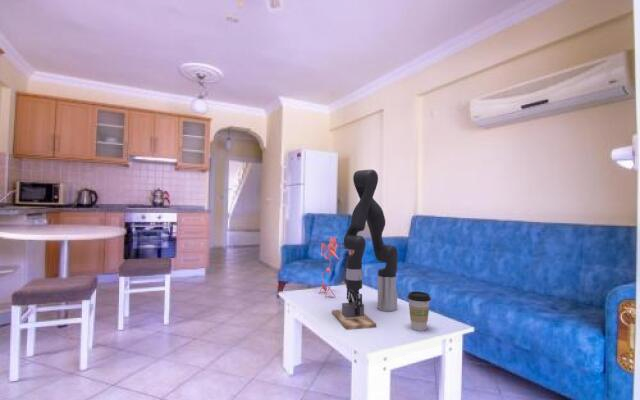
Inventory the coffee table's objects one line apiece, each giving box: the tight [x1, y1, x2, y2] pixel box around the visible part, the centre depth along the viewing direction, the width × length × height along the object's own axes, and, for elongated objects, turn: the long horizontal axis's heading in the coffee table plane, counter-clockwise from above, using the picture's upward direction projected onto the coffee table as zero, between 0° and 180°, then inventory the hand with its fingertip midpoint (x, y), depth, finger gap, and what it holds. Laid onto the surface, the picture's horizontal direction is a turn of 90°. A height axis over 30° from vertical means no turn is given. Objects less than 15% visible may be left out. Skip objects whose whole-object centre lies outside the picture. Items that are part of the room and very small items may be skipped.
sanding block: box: [341, 301, 365, 319], centre depth 154 cm, size 10×5×6 cm, turn 104°
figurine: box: [318, 236, 340, 298], centre depth 198 cm, size 15×26×35 cm, turn 22°
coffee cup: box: [407, 291, 432, 332], centre depth 145 cm, size 10×10×15 cm
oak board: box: [331, 309, 377, 331], centre depth 154 cm, size 14×22×2 cm, turn 14°
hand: (354, 312), depth 153 cm, fingers open, 8 cm apart
